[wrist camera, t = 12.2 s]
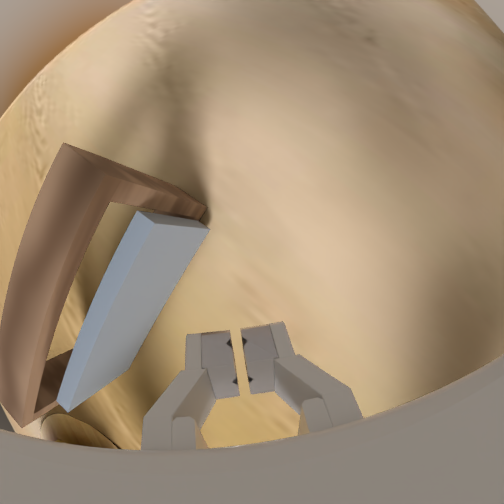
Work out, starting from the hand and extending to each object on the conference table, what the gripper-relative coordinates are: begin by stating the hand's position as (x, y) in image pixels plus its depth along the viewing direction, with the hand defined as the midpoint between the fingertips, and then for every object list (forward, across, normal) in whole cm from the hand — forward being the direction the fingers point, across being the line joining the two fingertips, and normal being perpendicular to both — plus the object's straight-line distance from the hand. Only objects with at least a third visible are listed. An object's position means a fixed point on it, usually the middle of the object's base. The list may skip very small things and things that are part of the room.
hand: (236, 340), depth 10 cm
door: (+18, +8, +12) cm, 23 cm away
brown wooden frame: (+21, +10, +11) cm, 26 cm away
